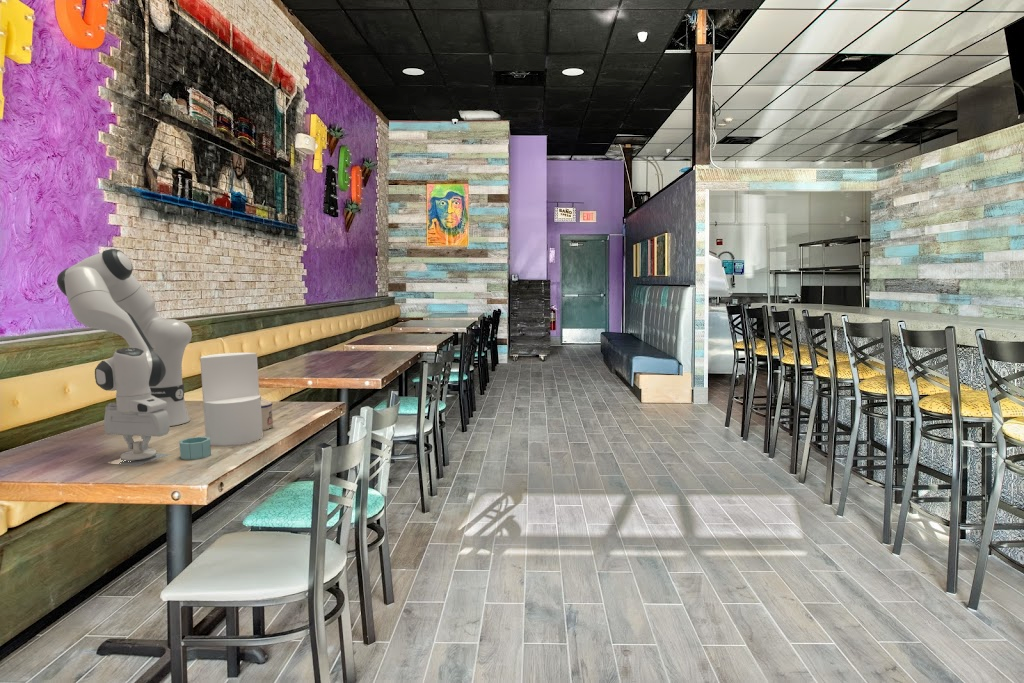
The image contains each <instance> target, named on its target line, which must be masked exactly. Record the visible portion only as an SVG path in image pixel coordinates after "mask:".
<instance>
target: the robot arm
mask: <svg viewBox="0 0 1024 683" xmlns="http://www.w3.org/2000/svg"><path fill="white" fill-rule="evenodd" d="M133 267H134V266H133V264H132V262H131V259H129V257H128V256H127V255H126V254H125V253H124V252H123V251H121V250H120V249H116V248H110V249H106V250H103V251H102V252H99V253H96V254H94V255H91V256H88V257H86V258H83V260H81V261H79V262H77V263H75V264H73V265H72V266H70V267H68V268H65V269H63V270H62V271H60V272H59V274H58V275H57V277H56V278H57V279H56V283H57V286H58V289H60V291H61V292H62V294H63V295H64V296H65V297H66V299H67V301H68V305H69V308H70V309H71V312H72V315H73V316H74V318H75V320H76V321H77V322H78V323H80V324H82V325H84V326H85V327H87V328H92V329H96V330H101V331H105V332H110V333H113V334H116V335H117V336H120V337H122V338H123V339H124V340H125V342H126V343H127V344H128V346H129V347H123V348H119V349H116V350H115V351H114V352H113V356H112V357H109V358H107V359H105V360H101V361H100V362H99V363H98V364H97V366H96V367H95V368H94V379H95V383H96V385H97V386H98V387H99V388H101V389H103V391H104V390H105V391H111V392H114V391H116V392H115V393H116V394H115V401H116V402H109V403H108V404H107V405H106V406H105V411H104V412H105V413H104V418H103V420H104V421H103V430H104V432H105V434H106V435H119V436H122V435H123V439H124V441H125V442H126V444H127V449H128V450H129V451H132V450H133V442H135V440H134V436H138V437H139V436H140V438H141V441H142V444H139V447H140V448H139V449H140V450H147V449H149V442H150V440H151V439H152V437H157V438H158V437H159V438H160V437H163V436H166V435H168V434H169V432H170V428H171V427H172V426H173V427H174V426H178V425H181V424H182V425H183V424H186V423H188V422H190V421H191V419H190V416H189V414H188V409H187V406H186V400H185V393H186V392H185V384H184V383H183V372H182V371H183V367H182V366H183V365H182V363H183V357H184V353H185V351H186V350H185V349H186V347H187V346H188V345H189V344H190V342H191V341H192V337H193V331H192V329H191V327H190V326H189V325H188V323H186V322H184V321H181V320H179V319H174V318H172V319H171V318H163V317H162V316H161V315H160V314H159V313H158V311H157V308H156V307H155V306H156V300H155V299H154V298H153V297H152V295H151V294H150V293H149V292H148V290H146V288H145V287H144V286H143V284H142V283H140V281H139V280H138V279H137V278H136V277H135V276H134V275H133V274H132V273H133V271H134V270H133V269H134V268H133Z"/></svg>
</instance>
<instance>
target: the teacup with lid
mask: <svg viewBox="0 0 1024 683" xmlns="http://www.w3.org/2000/svg"><path fill="white" fill-rule="evenodd" d="M261 412H262V430H263V431H267V430H266V429H268V430H270V429H269V428H271V429H273V426H274V424H273V423H274V422H273V421H274V420H273V402H272V401H270V400H266V398H261Z"/></svg>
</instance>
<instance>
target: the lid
mask: <svg viewBox="0 0 1024 683" xmlns="http://www.w3.org/2000/svg"><path fill="white" fill-rule="evenodd" d="M142 441H143V440H138V441H134V442H133V450H129V451H125V452H123V453H121V454H120V458H121V460H126V461H132V460H141V459H146V458H150V457H153V456H155V455H156V453H157V449H155V448H148V449H147V450H140V449H139V448H140V447H139V444H142Z"/></svg>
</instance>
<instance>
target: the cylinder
mask: <svg viewBox="0 0 1024 683" xmlns="http://www.w3.org/2000/svg"><path fill="white" fill-rule="evenodd" d="M199 360H200V373H201V374H200V376H201V391H202V404H203V405H202V406H203V408H202V409H203V419H204V420H203V421H204V435H205V436H204V437H209V438H210V445H211V446H223V447H224V446H235V445H236V446H237V445H241V444H242V445H245V444H244V443H247V444H249V443H248V442H251V443H253V442H252V441H255V440H257V441H259V440H258V439H260V438H261V437H262V436H263V437H264V435H263V434H264V433H263V431H264V430H262V412H261V399H262V395H260V383H259V382H260V381H259V366H258V353H256V352H226V353H225V352H224V353H215V354H208V355H202V356H200V357H199ZM263 437H262V438H263ZM262 438H261V439H262ZM261 439H260V440H261ZM255 442H256V441H255Z"/></svg>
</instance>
